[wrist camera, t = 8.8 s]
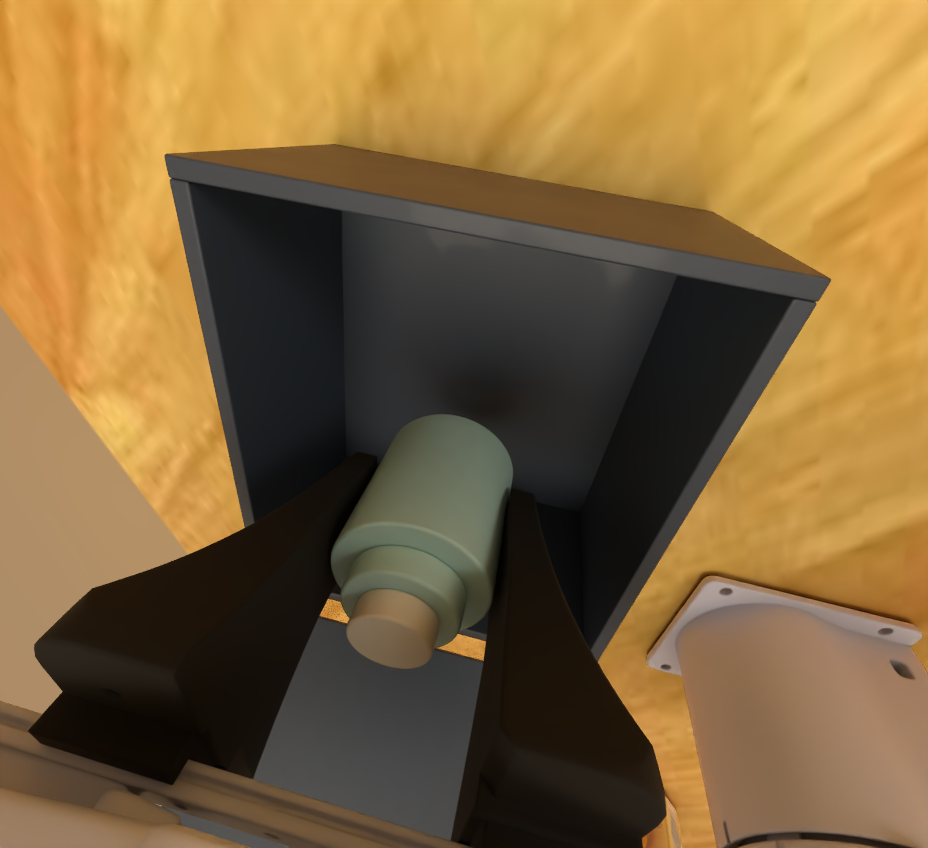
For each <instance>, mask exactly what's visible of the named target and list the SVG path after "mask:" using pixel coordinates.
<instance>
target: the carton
mask: <svg viewBox="0 0 928 848" xmlns="http://www.w3.org/2000/svg"><path fill="white" fill-rule="evenodd" d="M165 161H166V166H167V170H168V175H169V177H171V178H172V179H170V184H171V189H172V193H173V198H174V203H175V207H176V212H177V216H178V221H179V226H180V230H181V235H182V240H183V244H184V249H185V253H186V258H187V263H188V267H189V272H190V276H191V281H192V286H193V290H194V295H195V300H196V304H197V309H198V313H199V318H200V323H201V327H202V332H203V337H204V341H205V346H206V350H207V355H208V360H209V364H210V369H211V373H212V378H213V383H214V387H215V392H216V397H217V401H218V406H219V410H220V415H221V420H222V424H223V429H224V434H225V438H226V443H227V447H228V452H229V457H230V461H231V466H232V470H233V475H234V480H235V484H236V489H237V494H238V498H239V503H240V507H241V512H242V517H243V521H244V526H245V528H246V527H247V526H249V525H251V524H253V523H255V522H256V521H258V520H260V519H262V518H263V517H265V516H267V515H268V514H270V513H272V512H273V511H275V510H276V509H278V508H280V507H281V506H283V505H284V504H286V503H287V502H289V501H290V500H292V499H293V498H295V497H296V496H298V495H299V494H301V493H302V492H304V491H305V490H306V489H308V488H309V487H311V486H312V485H313V484H315V483H316V482H318V481H319V480H320V479H322V478H323V477H324V476H326V475H327V474H328V473H330V472H331V471H332V470H334V469H335V468H336V467H337V466H339V465H340V464H341V463H343V462H344V461H345V460H346V459H348V458H349V457H350V456H352V455H353V454H354V453H356V452H362V453H366V454H370V455H374V456H377V468H378V466H379V464H380V462H381V461H382V459H383V457H384V455H385V454H386V452H387V450H388V448H389V447H390V445H391V443H392V441H393V439H394V438H395V436H396V435H397V433H398V432H399V431H400V430H401V429H402V428H403V427H404V426H405V425H407V424H408V423H410V422H411V421H413V420H416V419H418V418H421V417H424V416H428V415H435V414H448V415H455V416H460V417H464V418H467V419H470V420H472V421H474V422H476V423H478V424H480V425H482V426H484V427H485V428H487V429H488V430H489V431H491V432H492V433H493V434H494V435H495V436H496V437H497V438H498V439H499V440H500V441H501V442H502V444H503V445H504V447H505V448H506V450H507V452H508V454H509V456H510V459H511V462H512V467H513V479H512V485H511V490H512V488H513V489H517V490H521V491H525V492H529V493H533V494H534V496H535V497H536V504H537V511H538V516H539V521H540V525H541V529H542V533H543V537H544V540H545V544H546V547H547V550H548V553H549V557H550V560H551V563H552V566H553V569H554V571H555V574H556V577H557V579H558V582H559V585H560V587H561V590H562V592H563V595H564V597H565V599H566V602H567V604H568V606H569V608H570V611H571V613H572V615H573V617H574V619H575V621H576V623H577V625H578V627H579V629H580V631H581V633H582V635H583V637H584V639H585V641H586V643H587V645H588V646H589V648H590V650H591V652H592V653H593V655H594V657H595V659H596V660H597V662H598V660H599V658H600V657H601V655H602V653H603V652H604V650H605V649H606V647H607V645H608V644H609V642H610V640H611V639H612V637H613V636H614V634H615V632H616V631H617V629H618V627H619V626H620V624H621V622H622V621H623V619H624V618H625V616H626V614H627V613H628V611H629V609H630V608H631V606H632V605H633V603H634V601H635V600H636V598H637V596H638V595H639V593H640V592H641V590H642V588H643V587H644V585H645V583H646V582H647V580H648V578H649V577H650V575H651V574H652V572H653V570H654V569H655V567H656V565H657V564H658V562H659V561H660V559H661V557H662V556H663V554H664V552H665V551H666V549H667V547H668V546H669V544H670V543H671V541H672V539H673V538H674V536H675V534H676V533H677V531H678V530H679V528H680V526H681V525H682V523H683V521H684V520H685V518H686V516H687V515H688V513H689V512H690V510H691V508H692V507H693V505H694V503H695V502H696V500H697V499H698V497H699V495H700V494H701V492H702V490H703V489H704V487H705V485H706V484H707V482H708V481H709V479H710V477H711V476H712V474H713V472H714V471H715V469H716V468H717V466H718V464H719V463H720V461H721V459H722V458H723V456H724V455H725V453H726V451H727V450H728V448H729V446H730V445H731V443H732V441H733V440H734V438H735V437H736V435H737V433H738V432H739V430H740V428H741V427H742V425H743V424H744V422H745V420H746V419H747V417H748V415H749V414H750V412H751V410H752V409H753V407H754V406H755V404H756V402H757V401H758V399H759V397H760V396H761V394H762V393H763V391H764V389H765V388H766V386H767V384H768V383H769V381H770V379H771V378H772V376H773V375H774V373H775V371H776V370H777V368H778V366H779V365H780V363H781V362H782V360H783V358H784V357H785V355H786V353H787V352H788V350H789V348H790V347H791V345H792V344H793V342H794V340H795V339H796V337H797V335H798V334H799V332H800V331H801V329H802V327H803V326H804V324H805V322H806V321H807V319H808V318H809V316H810V314H811V313H812V311H813V309H814V308H815V306H816V303H815V302H816V301H819V300H820V298H821V296H822V295H823V293H824V291H825V290H826V288H827V287H828V285H829V283H830V281H831V279H830V278H829V277H827V276H825V275H823V274H821V273H820V272H818V271H816V270H814V269H813V268H811V267H809V266H807V265H806V264H804V263H802V262H800V261H799V260H797V259H795V258H793V257H791V256H790V255H788V254H786V253H784V252H783V251H781V250H779V249H777V248H776V247H774V246H772V245H770V244H768V243H767V242H765V241H763V240H761V239H760V238H758V237H756V236H754V235H753V234H751V233H749V232H747V231H746V230H744V229H742V228H740V227H738V226H737V225H735V224H733V223H731V222H730V221H728V220H726V219H724V218H723V217H721V216H719V215H717V214H715V213H714V212H710V211H705V210H699V209H694V208H688V207H683V206H677V205H671V204H666V203H660V202H655V201H649V200H643V199H638V198H632V197H627V196H621V195H616V194H610V193H604V192H599V191H593V190H588V189H582V188H576V187H571V186H565V185H560V184H554V183H548V182H543V181H537V180H532V179H526V178H521V177H515V176H509V175H504V174H498V173H493V172H487V171H481V170H476V169H470V168H465V167H459V166H453V165H448V164H442V163H437V162H431V161H426V160H420V159H414V158H409V157H403V156H398V155H392V154H386V153H381V152H375V151H370V150H364V149H358V148H353V147H347V146H342V145H336V144H330V145H313V146H295V147H278V148H260V149H243V150H225V151H208V152H190V153H173V154H165ZM510 493H511V491H510ZM340 594H341V588H340V587H339V585H338V584H336V586H335V587H334V589H333V591H332V593H331V594H330V596H329V598H328V599H332V600H336V601H339V602H341V599H340ZM488 615H489V611H488V612H487V613H486V615H485V616H484V617H483V618H482V619H481V620H480V621H479V622H477V623H476V624H475V625H473V626H471V627H469V628H466V629H463V630H460V631H459V632H458V634H461V635H465V636H469V637H472V638H476V639H480V640H483V641H486V638H487V626H488Z"/></svg>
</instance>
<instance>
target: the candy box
mask: <svg viewBox="0 0 928 848" xmlns="http://www.w3.org/2000/svg"><path fill="white" fill-rule="evenodd" d="M665 801H666V812H667V816H666V817H665V818H664V820H663V821H662V822H661V823H660V825H659V826H658V827H656V828H655V829H654V830H652V831H651V832H650V833H648V834H647V835H646V836H644V837H643V838H642V843H643V848H683V845H682V839H681V833H680V827H679V821H678V816H677V811H676V809H675V808H674V806H673V805H672V804H671V802H670V801H669V800H668V799H667V797H666V796H665Z"/></svg>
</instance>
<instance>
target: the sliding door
mask: <svg viewBox="0 0 928 848" xmlns="http://www.w3.org/2000/svg"><path fill="white" fill-rule="evenodd" d="M346 626H347V623H343V622H340V621H336V620H333V619H329V618H325V617H322V616H319V618H318V620H317V622H316V624H315V627H314V629H313V631H312V633H311V636H310V638H309V640H308V642H307V645H306V647H305V649H304V652H303V654H302V656H301V659H300V661H299V663H298V666H297V668H296V671H295V673H294V675H293V678H292V680H291V682H290V685H289V687H288V690H287V692H286V695H285V697H284V700H283V702H282V705H281V707H280V710H279V712H278V715H277V717H276V720H275V722H274V725H273V727H272V730H271V733H270V735H269V738H268V740H267V743H266V746H265V748H264V751H263V753H262V756H261V759H260V761H259V764H258V767H257V769H256V772H255V775H254V778H253V780H256V781H260V782H263V783H266V784H269V785H272V786H276V787H279V788H282V789H285V790H289V791H292V792H295V793H298V794H301V795H305V796H308V797H311V798H314V799H318V800H321V801H324V802H327V803H330V804H334V805H337V806H340V807H343V808H347V809H350V810H353V811H356V812H359V813H363V814H366V815H369V816H372V817H376V818H379V819H382V820H385V821H388V822H392V823H395V824H398V825H401V826H405V827H408V828H411V829H414V830H417V831H421V832H424V833H427V834H430V835H434V836H437V837H440V838H443V839H446V840H451V835H452V830H453V825H454V820H455V814H456V809H457V804H458V799H459V794H460V788H461V783H462V778H463V772H464V767H465V762H466V756H467V751H468V746H469V740H470V735H471V729H472V724H473V718H474V713H475V707H476V702H477V696H478V690H479V685H480V679H481V673H482V668H483V662H484V661H482V660H478V659H475V658H471V657H467V656H464V655H460V654H456V653H453V652H449V651H445V650H442V649H438V648H434V650H433V654H432V657H431V658H430V660H429V661H428V662H427V663H426V664H424V665H423V666H420V667H417V668H412V669H400V668H393V667H389V666H385V665H382V664H379V663H377V662H374V661H372V660H370V659H368V658H367V657H365V656H363V655H362V654H361V653H359V652H358V651H357V650H356V649H355V648H354V647H353V646H352V645H351V644H350V642H349V640H348V638H347V635H346ZM162 807H163V808H165V809H167V810H169V811H171V812H173V813H175V814H178V815H179V816H180V822H181V825H182V826H184V827H188V828H192V829H195V830H198V831H201V832H205V833H208V834H211V835H214V836H217V837H220V838H223V839H226V840H229V841H232V842H235V843H238V844H242V845H245V846H248V847H251V848H292V847H289V846H286V845H283V844H280V843H276V842H273V841H270V840H267V839H264V838H261V837H258V836H255V835H252V834H248V833H245V832H242V831H239V830H236V829H233V828H230V827H227V826H224V825H220V824H217V823H214V822H211V821H208V820H205V819H202V818H199V817H196V816H192V815H189V814H186V813H183V812H180V811H177V810H174V809H171V808H168V807H164V806H162Z"/></svg>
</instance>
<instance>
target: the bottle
mask: <svg viewBox="0 0 928 848" xmlns="http://www.w3.org/2000/svg"><path fill="white" fill-rule="evenodd" d="M512 479H513V467H512V462H511V459H510V456H509V454H508V452H507V450H506V448H505V447H504V445H503V444H502V442H501V441H500V440H499V439H498V438H497V437H496V436H495V435H494V434H493V433H492V432H491V431H489V430H488V429H487V428H485V427H484V426H482V425H480V424H478V423H476V422H474V421H472V420H470V419H467V418H464V417H460V416H455V415H448V414H435V415H428V416H424V417H421V418H418V419H416V420H413V421H411V422H410V423H408V424H407V425H405V426H404V427H403V428H402V429H401V430H400V431H399V432H398V433H397V435H396V436H395V438H394V439H393V441H392V443H391V445H390V447H389V448H388V450H387V452H386V454H385V455H384V457H383V459H382V461H381V462H380V464H379V466H378V468H377V469H376V471H375V473H374V475H373V476H372V478H371V480H370V482H369V483H368V485H367V487H366V489H365V491H364V492H363V494H362V496H361V498H360V499H359V501H358V503H357V505H356V506H355V508H354V510H353V512H352V513H351V515H350V517H349V519H348V520H347V522H346V524H345V526H344V528H343V529H342V531H341V533H340V535H339V536H338V538H337V540H336V542H335V544H334V546H333V548H332V552H331V569H332V572H333V575H334V578H335V580H336V582H337V584H338V585H339V587H340V588H341V594H340V599H341V604H342V607H343V609H344V611H345V613H346V614H347V616H348V617H349V618H350V619H349V621H348V623H347V626H346V635H347V638H348V640H349V642H350V644H351V645H352V646H353V647H354V648H355V649H356V650H357V651H358V652H359V653H361V654H362V655H363V656H365V657H367V658H368V659H370V660H372V661H374V662H377V663H379V664H382V665H385V666H389V667H393V668H400V669H412V668H417V667H420V666H423V665H424V664H426V663H427V662H428V661H429V660H430V658H431V657H432V654H433V650H434V648H438V647H441V646H444V645H446V644H448V643H449V642H451V641H452V640H453V639H454V638H455V637H456V635H457V634H458V632H459V631H460V630H463V629H466V628H469V627H471V626H473V625H475V624H476V623H477V622H479V621H480V620H481V619H482V618H483V617H484V616H485V615H486V613H487V612H488V611H489V609H490V607H491V605H492V602H493V596H494V590H495V584H496V578H497V571H498V565H499V559H500V553H501V547H502V540H503V531H504V524H505V518H506V512H507V506H508V501H509V497H510V491H511V485H512Z"/></svg>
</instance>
